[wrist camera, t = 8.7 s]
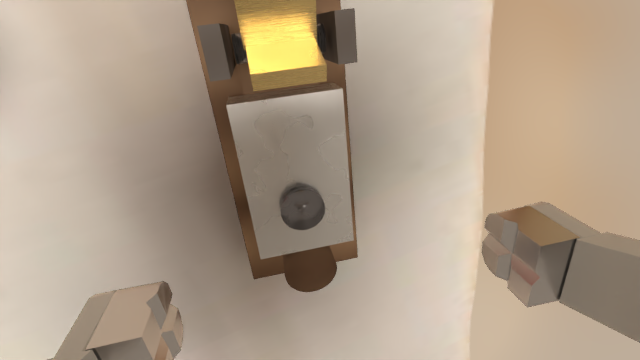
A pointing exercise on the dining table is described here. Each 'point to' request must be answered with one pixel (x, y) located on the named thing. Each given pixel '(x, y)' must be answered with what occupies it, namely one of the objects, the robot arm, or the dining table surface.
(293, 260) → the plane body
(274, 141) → the grey plate with knob
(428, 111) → the dining table surface
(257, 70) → the lever
